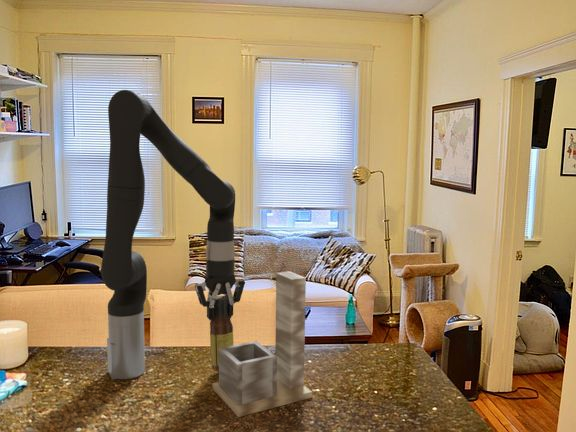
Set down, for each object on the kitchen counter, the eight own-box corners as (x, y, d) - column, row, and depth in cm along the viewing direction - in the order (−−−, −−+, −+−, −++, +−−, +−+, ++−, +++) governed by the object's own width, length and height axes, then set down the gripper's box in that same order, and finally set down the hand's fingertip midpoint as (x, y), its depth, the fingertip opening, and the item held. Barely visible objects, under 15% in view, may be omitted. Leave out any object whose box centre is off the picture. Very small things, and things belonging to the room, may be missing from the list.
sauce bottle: (238, 365, 139) (238, 296, 136) (226, 374, 133) (226, 302, 131) (218, 361, 141) (217, 292, 139) (205, 370, 136) (205, 298, 133)
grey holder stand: (238, 417, 115) (238, 291, 111) (212, 388, 129) (212, 276, 125) (312, 397, 125) (314, 281, 121) (281, 373, 138) (282, 268, 135)
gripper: (239, 252, 140) (238, 311, 142) (189, 256, 133) (189, 318, 135) (250, 257, 134) (249, 319, 136) (199, 261, 126) (199, 327, 129)
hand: (219, 318), depth 135 cm, fingers closed on sauce bottle, 4 cm apart
